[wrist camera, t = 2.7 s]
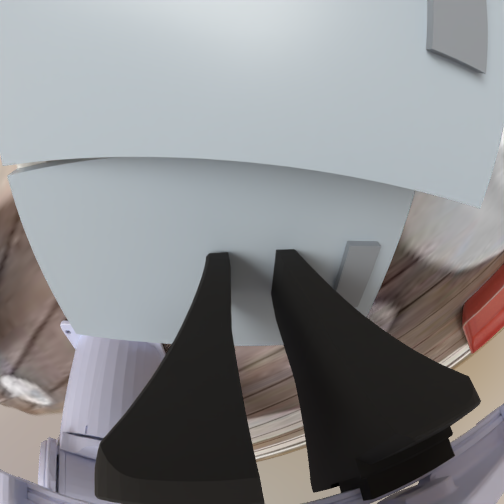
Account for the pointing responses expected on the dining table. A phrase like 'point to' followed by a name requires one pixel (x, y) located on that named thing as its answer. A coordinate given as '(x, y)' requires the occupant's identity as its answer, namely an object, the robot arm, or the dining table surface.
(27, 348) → the dining table surface
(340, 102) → the cover
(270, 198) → the cover
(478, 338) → the plant saucer
